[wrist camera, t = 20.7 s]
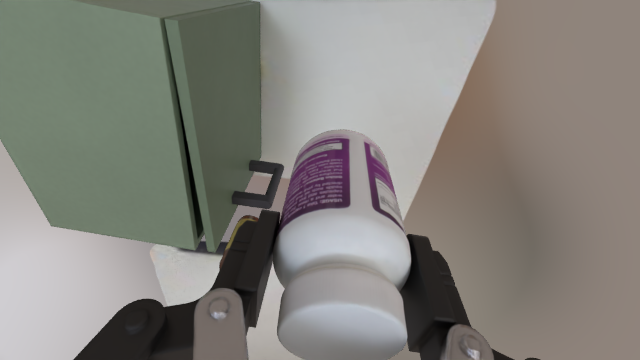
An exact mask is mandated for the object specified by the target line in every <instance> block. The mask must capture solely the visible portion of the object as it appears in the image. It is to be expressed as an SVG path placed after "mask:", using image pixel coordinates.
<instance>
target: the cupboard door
mask: <svg viewBox="0 0 640 360" xmlns="http://www.w3.org/2000/svg"><path fill="white" fill-rule="evenodd" d="M164 20H165V25H166V30H167V36H168V41H169V46H170V52H171V57H172V63H173V68H174V73H175V79H176V84H177V89H178V95H179V100H180V105H181V111H182V116H183V121H184V127H185V132H186V137H187V143H188V148H189V153H190V159H191V164H192V169H193V175H194V180H195V185H196V191H197V196H198V201H199V207H200V212H201V217H202V223H203V228H204V233H205V238H206V244H207V249H208V251H209V252H216V250H217V248H218V246H219V244H220V242H221V240H222V237H223V235H224V233H225V231H226V229H227V227H228V225H229V223H230V221H231V219H232V217H233V215H234V213H235V211H236V208H237V206H238V205H243V206H250V207H257V208H265V209H269V208H271V206H272V203H273V200H274V197H275V194H276V191H277V188H278V185H279V182H280V179H281V176H282V173H283V170H284V166H283V165H282V164H278V163H271V162H264V161H259V160H260V158H261V86H260V2H254V1H252V2H247V3H242V4H237V5H232V6H227V7H222V8H217V9H212V10H207V11H201V12H196V13H191V14H186V15H181V16H176V17H171V18H166V19H164ZM254 171H255V172H262V173H269V174H273V176H272V178H271V181H270V184H269V186H268V189H267V192H266V194H265V195H261V194H254V193H247V192H245V189H246V188H247V185H248V183H249V181H250V179H251V177H252V175H253V173H254Z"/></svg>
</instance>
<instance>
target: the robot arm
mask: <svg viewBox="0 0 640 360" xmlns="http://www.w3.org/2000/svg"><path fill="white" fill-rule="evenodd" d="M279 220H280V212H275V211H269V210H262V211H261V214H260V216H259V219H258V222H257V221H251V220H246V221H245V222H244V223H243V224H242V225H241V226H240V227H239V228H238V230H237V232H236V234H235V236H234V239H233V241H232V243H231V246H230V249H229V250H228V253H227V255H226V257H225V260H224V262H223V264H222V266H221V269H220V271H219V273H218V276H217V278H216V280H215V283H214V285H213V286H212V288H211V289H210V290H209V291H208V293H206V294H205V295H204V296H203V297H201V298H200V299H198V300H196V301H193V302H190V303H186V304H180V305H174V306H168V307H163V305H162V304H161V303H160V302H158V301H156V300H153V299H141V300H137V301H134V302H132V303H129V304H128V305H126V306H124V307H123V308H122V309H121V310H119V311H118V312H117V313H116V314H115V315H114V317H113V318H112V319H111V320H110V321H109V322H108V323H107V324H106V325H105V326H104V327H103V328H102V329H101V331H100V332H99V333H98V334H97V335H96V336H95V337H94V338H93V339H92V340H91V341H90V342H89V343H88V345H87V346H86V347H85V348H84V349H83V350H82V351H81V352H80V353H79V354H78V356H76V357H75V359H74V360H249V359H248V350H247V341H246V335H247V332H248V328H249V327H255V328H256V324H257V320H258V317H259V313H260V309H261V305H262V301H263V297H264V293H265V289H266V285H267V281H268V277H269V274H270V270H271V266H272V262H273V246H274V242H275V239H276V236H277V231H278V227H279ZM407 239H408V242H409V246H410V253H411V269H410V273H409V276H408V278H407V281H406V282H405V284H404V286H403V287H402V289H401V290H400V291H399V293H400V295H401V297H402V299H403V306H404V315H405V322H406V329H407V342H408V348H409V351H412V352H418V353H420V357H421V360H514V359H512V358H509V357H507V356H505V355H503V354H501V353H499V352H497V351H495V350H493V349H492V348H491V347H490V345H489V344H488V342H487V341H486V340H485V338H484V337H483V336H482V335H481V334H480V333H479V332H477V331H476V330H475V329H473V328H472V327H471V325H470V323H469V320H468V317H467V314H466V312H465V309H464V307H463V304H462V301H461V299H460V296H459V293H458V291H457V288H456V287H455V282H454V280H453V277H451V272H450V269H449V266H448V264H447V262H446V261H445V259H444V258H443V257H442V255H441V254H440V253H439V252H438V251H433V250H432V247H431V244H430V241H429V239H428V238H427V237H425V236H419V235H413V234H408V235H407ZM525 360H540V359H537V358H527V359H525Z"/></svg>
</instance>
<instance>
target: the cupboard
mask: <svg viewBox="0 0 640 360" xmlns="http://www.w3.org/2000/svg"><path fill="white" fill-rule="evenodd" d="M247 2H251V0H0V139H1V142H2V143H3V145H4V147H5V148H6V150H7V152H8V153H9V155H10V157H11V158H12V160H13V162H14V163H15V165H16V167H17V169H18V170H19V172H20V174H21V176H22V177H23V179H24V181H25V182H26V184H27V186H28V187H29V189H30V191H31V192H32V194H33V196H34V198H35V199H36V201H37V203H38V204H39V206H40V208H41V210H42V211H43V213H44V214H45V216H46V218H47V220H48V221H49V223H50V225H51V226H54V227H60V228H66V229H72V230H78V231H84V232H90V233H95V234H101V235H107V236H113V237H119V238H126V239H131V240H137V241H144V242H149V243H155V244H161V245H167V246H173V247H179V248H185V249H191V250H196V248H197V246H198V244H199V243H200V241H201V239H202V237H203V235H204V234H205V233H204V228H203V223H202V217H201V212H200V207H199V201H198V196H197V191H196V185H195V180H194V175H193V169H192V164H191V159H190V153H189V148H188V143H187V137H186V132H185V127H184V121H183V116H182V111H181V105H180V100H179V95H178V89H177V84H176V79H175V73H174V68H173V63H172V57H171V52H170V46H169V41H168V36H167V30H166V25H165V20H164V19H166V18H171V17H176V16H181V15H186V14H191V13H196V12H201V11H207V10H212V9H217V8H222V7H227V6H232V5H237V4H242V3H247Z"/></svg>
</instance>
